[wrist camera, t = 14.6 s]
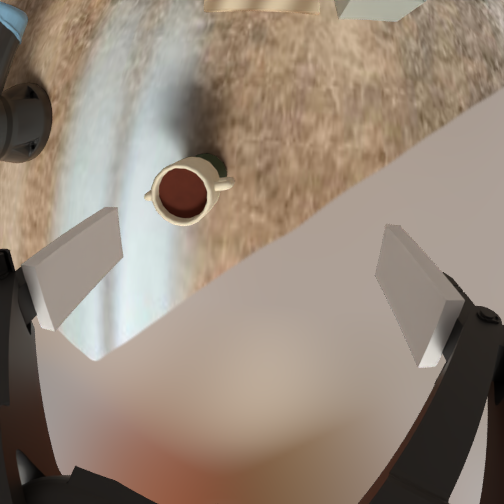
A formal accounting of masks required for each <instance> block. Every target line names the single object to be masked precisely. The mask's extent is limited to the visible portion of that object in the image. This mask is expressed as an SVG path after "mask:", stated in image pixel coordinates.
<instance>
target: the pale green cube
mask: <svg viewBox="0 0 504 504" xmlns="http://www.w3.org/2000/svg"><path fill="white" fill-rule="evenodd" d="M425 1H426V0H335V4H336V9H337V14H338V19H359V20H380V21H393V22H397V21H399V20H400V19H402V18H403V17H404V16H406V15H407V14H408V13H410V12H411V11H413V10H414V9H415V8H417V7H418V6H420V5H421V4H422V3H424V2H425Z"/></svg>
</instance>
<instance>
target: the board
mask: <svg viewBox="0 0 504 504" xmlns="http://www.w3.org/2000/svg"><path fill="white" fill-rule="evenodd" d="M204 11H205V12H224V11H274V12H292V13H304V14H315V15H319V13H320V0H205V1H204Z"/></svg>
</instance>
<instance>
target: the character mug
mask: <svg viewBox="0 0 504 504" xmlns="http://www.w3.org/2000/svg"><path fill="white" fill-rule="evenodd" d="M234 182H235V180H234V178H233V177H227V171H226V169H225V166H224V164H223V162H222V161H221V160H220V159H219V158H218V157H217V156H214V155H211V154H208V153H206V154H200V155H197V156H195V157H187V158H185V159H182V160H180V161H177V162H175V163H173V164H171V165H169V166H167V167H165V168H163V169H162V171H161V172H160V173H159V174H158V175H157V176H156V177H155V179H154V182H153V185H152V187H151V190H150V191H149V192H147V193H146V194H145V196H144V199H145V200H147V201H152V202H153V204H154V207H155V209H156V211H157V212H158V213H159V214H160V215H161V216H162V217H163V219H165V220H166V221H168V222H170V223H172V224H174V225H179V226H188V225H192V224H194V223H196V222H198V221H199V220H200V219H202V218H203V217H204V216H205V215H206V214H207V213H208V212H209V211H210V210H211V208H212V207H213V206H214V204H215V203H216V202H217V200H218V198H219V195H220V191H221V190H228V189H230V188H231V187H232V186H233V185H234Z"/></svg>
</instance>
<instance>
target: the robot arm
mask: <svg viewBox="0 0 504 504" xmlns="http://www.w3.org/2000/svg"><path fill="white" fill-rule="evenodd" d="M27 23H28V17H27V15H26V13H25V12H24V11H22V10H20V9H18V8H16V7H14V6H12V5H9V4H6V3H3V2H0V161H5V162H12V163H23V162H26V161H29V160H32V159H34V158H35V157H36V156H38V155H39V154H40V152H41V151H42V150H43V148H44V147H45V145H46V143H47V140H48V138H49V134H50V130H51V124H52V110H51V105H50V101H49V98H48V96H47V94H46V92H45V91H44V90H43V89H42V88H41V87H40V86H39V85H37V84H33V83H23V84H18V85H15V86H13V87H11V88H9V89H7V90H5V91H3V88H4V85H5V82H6V79H7V76H8V73H9V70H10V67H11V64H12V61H13V59H14V56H15V53H16V51H17V48H18V46H19V45H20V44H21V42H22V36H23V33H24V31H25V28H26V26H27ZM2 91H3V92H2ZM122 258H123V251H122V244H121V236H120V227H119V218H118V208H117V207H104V208H103V209H101V210H100V211H98V212H96V213H95V214H93V215H92V216H90V217H89V218H87V219H85V220H84V221H82V222H81V223H79V224H78V225H76V226H75V227H73V228H72V229H70V230H69V231H67V232H66V233H64V234H63V235H61V236H60V237H59V238H57V239H56V240H54V241H53V242H51V243H50V244H49V245H47V246H46V247H44V248H43V249H42V250H40V251H39V252H37V253H36V254H35V255H33V256H32V257H31V258H29V259H28V260H27V261H25V262H24V263H23V264H21V267H20V268H19V269H18V270H16V271H15V269H14V265H13V261H12V257H11V254H10V250H8V249H0V504H157V503H155V502H153V501H151V500H149V499H147V498H145V497H144V496H142V495H140V494H138V493H136V492H134V491H132V490H131V489H129V488H127V487H126V486H124V485H122V484H121V483H119V482H117V481H115V480H112V479H109V478H106V477H103V476H101V475H98V474H95V473H92V472H90V471H87V470H84V469H82V468H79V467H77V466H75V468H74V470H73V472H72V474H71V475H62V474H61V472H60V471H59V469H58V466H57V464H56V461H55V457H54V453H53V450H52V445H51V441H50V437H49V432H48V428H47V423H46V418H45V413H44V408H43V402H42V396H41V389H40V383H39V374H38V367H37V356H36V345H35V329H34V326H33V323H32V321H31V320H32V319H33V318H34V317H35V316H36V315H37V318H38V320H39V323H40V326H41V328H44V329H48V330H51V331H56V330H57V329H58V327H59V326H60V325H61V324H62V323H63V322H64V320H65V319H66V318H67V317H68V316H69V315H70V314H71V312H72V311H73V310H74V309H75V308H76V307H77V306H78V305H79V303H80V302H81V301H82V300H83V299H84V298H85V297H86V296H87V295H88V294H89V293H90V291H91V290H92V289H93V288H94V287H95V286H96V285H97V284H98V283H99V282H100V281H101V280H102V279H103V277H104V276H105V275H106V274H107V273H108V272H109V271H110V270H111V269H112V268H113V267H114V266H115V265H116V264H117V263H118V262H119V261H120V260H121V259H122ZM375 277H376V278H377V281H378V282H379V284H380V286H381V288H382V290H383V292H384V295H385V297H386V299H387V300H388V303H389V305H390V307H391V309H392V311H393V313H394V315H395V317H396V319H397V322H398V324H399V326H400V328H401V330H402V333H403V335H404V337H405V339H406V341H407V344H408V346H409V348H410V351H411V353H412V355H413V357H414V360H415V362H416V365H417V367H418V368H422V367H435V366H436V365H437V363H438V361H439V359H440V357H441V355H442V353H443V355H444V357H445V359H446V363H445V365H444V367H443V369H442V371H441V373H440V374H439V376H438V378H437V380H436V382H435V385H434V387H433V389H432V391H431V393H430V395H429V397H428V399H427V401H426V402H425V405H424V406H423V408H422V410H421V412H420V413H419V415H418V417H417V419H416V420H415V422H414V424H413V426H412V427H411V429H410V431H409V432H408V434H407V435H406V437H405V439H404V440H403V442H402V443H401V445H400V447H399V448H398V450H397V451H396V453H395V454H394V456H393V457H392V459H391V460H390V462H389V463H388V465H387V466H386V467H385V469H384V470H383V471H382V473H381V474H380V476H379V477H378V479H377V480H376V481H375V482H374V484H373V485H372V486H371V488H370V489H369V490H368V492H367V493H366V494H365V495H364V497H363V498H362V499H361V500H360V502H359V503H358V504H449V503H448V500H449V497H450V495H451V493H452V491H453V489H454V487H455V484H456V482H457V480H458V478H459V476H460V473H461V471H462V469H463V466H464V464H465V462H466V459H467V456H468V454H469V451H470V448H471V446H472V443H473V441H474V437H475V435H476V432H477V429H478V426H479V423H480V420H481V416H482V413H483V410H484V406H485V403H486V399H487V396H488V428H487V448H486V461H485V470H484V471H485V472H484V479H483V487H482V493H481V499H480V504H504V325H502V321H501V319H500V317H499V316H498V315H497V314H496V313H495V312H494V311H492V310H490V309H488V308H485V307H482V306H475V305H474V304H473V302H472V301H471V300H470V299H469V297H468V296H467V295H466V294H465V293H464V292H463V290H462V289H461V288H460V287H458V284H457V283H456V282H455V281H454V279H453V278H451V277H450V276H448V275H447V274H445V273H444V272H441V270H439V268H438V267H437V266H436V265H435V263H434V262H433V261H432V260H431V259H430V258H429V257H428V256H427V254H426V253H425V252H424V251H423V250H422V249H421V248H420V247H419V246H418V244H417V243H416V242H415V241H414V240H413V239H412V238H411V237H410V236H409V235H408V234H407V233H406V231H405V230H404V229H402V227H401V226H398V225H390V224H386V225H385V231H384V236H383V241H382V246H381V251H380V255H379V260H378V264H377V269H376V273H375Z"/></svg>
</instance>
